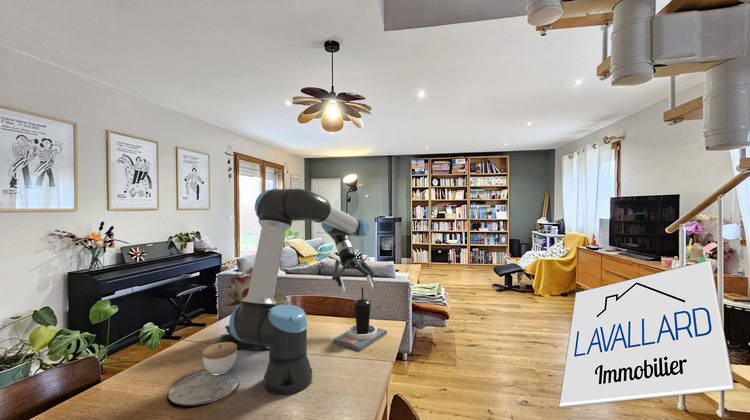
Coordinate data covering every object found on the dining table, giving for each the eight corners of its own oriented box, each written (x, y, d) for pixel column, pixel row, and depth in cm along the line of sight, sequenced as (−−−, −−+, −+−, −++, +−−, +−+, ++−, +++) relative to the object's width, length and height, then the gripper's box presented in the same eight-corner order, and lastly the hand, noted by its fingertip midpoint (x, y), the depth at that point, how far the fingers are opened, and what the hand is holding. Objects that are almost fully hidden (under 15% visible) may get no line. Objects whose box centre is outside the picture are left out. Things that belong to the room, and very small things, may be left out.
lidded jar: (199, 381, 104) (198, 352, 104) (206, 365, 114) (206, 339, 114) (234, 376, 107) (234, 348, 107) (239, 361, 117) (239, 335, 117)
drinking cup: (372, 330, 141) (372, 285, 141) (370, 337, 134) (370, 289, 133) (355, 329, 142) (355, 284, 142) (352, 336, 134) (352, 289, 134)
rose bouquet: (282, 351, 125) (281, 274, 125) (207, 351, 125) (206, 274, 125) (298, 326, 151) (297, 262, 150) (236, 326, 151) (235, 262, 151)
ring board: (360, 351, 125) (360, 342, 125) (332, 342, 132) (332, 334, 132) (387, 333, 142) (387, 325, 141) (361, 327, 149) (361, 319, 149)
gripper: (366, 255, 164) (380, 291, 151) (319, 258, 153) (329, 298, 140) (371, 245, 159) (385, 282, 146) (322, 249, 148) (333, 289, 135)
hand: (358, 290), depth 143 cm, fingers open, 13 cm apart
